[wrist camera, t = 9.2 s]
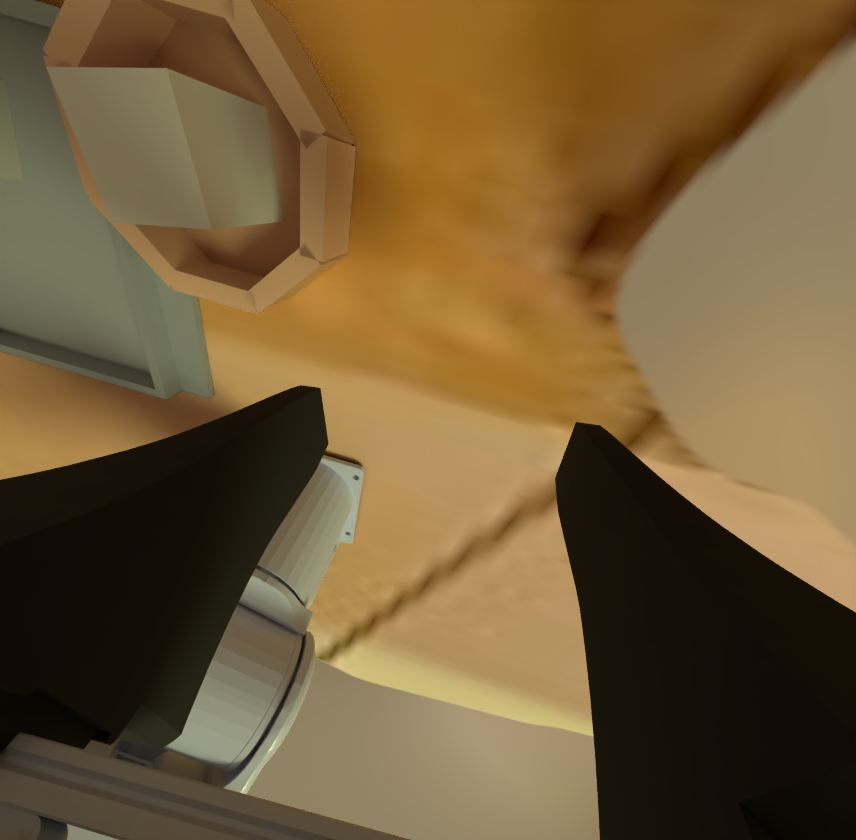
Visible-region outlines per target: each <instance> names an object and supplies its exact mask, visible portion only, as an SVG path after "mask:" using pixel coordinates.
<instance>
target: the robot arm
mask: <svg viewBox="0 0 856 840" xmlns="http://www.w3.org/2000/svg"><path fill="white" fill-rule="evenodd" d="M327 446H328V438H327V431H326V424H325V417H324V410H323V403H322V396H321V389H320V388H316V387H309V386H301V385H300V386H297V387H294V388H291V389H288V390H286V391H283V392H281V393H278V394H276V395H273V396H271V397H269V398H266V399H264V400H262V401H259V402H257V403H255V404H252V405H250V406H248V407H245V408H243V409H241V410H238V411H236V412H234V413H231V414H229V415H226V416H224V417H221V418H219V419H216V420H214V421H211V422H208V423H206V424H203V425H201V426H198V427H196V428H193V429H191V430H188V431H185V432H182V433H180V434H177V435H174V436H171V437H168V438H165V439H162V440H159V441H156V442H152V443H149V444H146V445H143V446H140V447H136V448H133V449H130V450H126V451H122V452H118V453H115V454H111V455H107V456H103V457H99V458H95V459H92V460H88V461H84V462H80V463H76V464H72V465H68V466H64V467H60V468H55V469H51V470H46V471H41V472H37V473H32V474H28V475H23V476H18V477H13V478H8V479H3V480H0V840H409V839H406V838H402V837H398V836H395V835H391V834H388V833H384V832H380V831H377V830H373V829H369V828H366V827H362V826H359V825H355V824H351V823H348V822H344V821H341V820H337V819H333V818H330V817H326V816H322V815H319V814H315V813H312V812H308V811H304V810H301V809H297V808H294V807H290V806H286V805H283V804H279V803H275V802H272V801H268V800H265V799H261V798H257V797H254V796H250V795H246V794H247V792H248V791H249V789H250V787H251V786H252V784H253V782H254V781H255V779H256V777H257V776H258V774H259V773H260V771H261V770H262V768H263V766H264V765H265V764H266V762H267V761H268V760H269V759H270V758H271V757H272V756H273V754H274V753H275V752H276V750H277V749H278V747H279V746H280V745H281V743H282V742H283V740H284V738H285V737H286V735H287V733H288V731H289V730H290V728H291V726H292V724H293V722H294V720H295V718H296V716H297V714H298V712H299V710H300V708H301V705H302V702H303V701H304V698H305V696H306V693H307V690H308V687H309V684H310V681H311V678H312V674H313V670H314V665H315V642H314V636H313V635H312V634H311V633H310V632H308V631H306V630H307V627H308V625H309V623H310V621H311V618H312V616H313V612H311V611H310V610H308V609H309V607H310V606H311V604H312V602H313V601H314V599H315V596H316V594H317V592H318V590H319V587H320V585H321V583H322V581H323V578H324V576H325V574H326V572H327V570H328V567H329V565H330V563H331V561H332V558H333V556H334V554H335V552H336V550H337V547H338V545H339V543H340V542H343V543H347V544H350V543H352V541H353V538H354V532H355V526H356V520H357V514H358V508H359V502H360V496H361V490H362V484H363V478H364V472H365V471H364V468H363V467H362V466H360V465H357V464H353V463H350V462H346V461H343V460H340V459H336V458H333V457H329V456H326V455H324V452H325V450H326V448H327ZM355 475H357V476H358V477H357V476H355ZM555 481H556V495H557V505H558V513H559V517H560V522H561V526H562V531H563V535H564V539H565V544H566V548H567V552H568V556H569V561H570V565H571V569H572V573H573V578H574V582H575V586H576V591H577V596H578V601H579V606H580V613H581V621H582V628H583V636H584V644H585V652H586V661H587V671H588V680H589V689H590V699H591V711H592V723H593V734H594V746H595V759H596V776H597V792H598V808H599V828H600V840H856V612H854V611H852V610H851V609H849V608H847V607H845V606H844V605H842V604H840V603H839V602H837V601H835V600H834V599H832V598H830V597H829V596H827V595H826V594H824V593H822V592H821V591H819V590H818V589H816V588H814V587H813V586H811V585H809V584H808V583H806V582H805V581H803V580H801V579H800V578H798V577H797V576H795V575H793V574H792V573H790V572H789V571H787V570H785V569H784V568H782V567H781V566H779V565H778V564H776V563H775V562H773V561H772V560H770V559H769V558H767V557H765V556H764V555H762V554H761V553H759V552H758V551H757V550H755V549H754V548H752V547H751V546H749V545H748V544H747V543H745V542H744V541H742V540H741V539H739V538H738V537H737V536H735V535H734V534H732V533H731V532H729V531H728V530H726V529H725V528H724V527H722V526H721V525H720V524H718V523H717V522H715V521H714V520H713V519H711V518H710V517H709V516H707V515H706V514H705V513H703V512H702V511H701V510H700V509H698V508H697V507H696V506H695V505H693V504H692V503H691V502H690V501H688V500H687V499H686V498H684V497H683V496H682V495H681V494H679V493H678V492H677V491H676V490H675V489H673V488H672V487H671V486H670V485H669V484H667V483H666V482H665V481H664V480H663V479H661V478H660V477H659V476H658V475H657V474H656V473H654V472H653V471H652V470H651V469H650V468H649V467H648V466H646V465H645V464H644V463H643V462H642V461H641V460H640V459H638V458H637V457H636V456H635V455H634V454H633V453H632V452H631V451H630V450H628V449H627V448H626V447H625V446H624V445H623V444H622V443H621V442H619V441H618V440H617V439H616V438H615V437H614V436H613V435H611V434H610V433H609V432H608V431H606V430H605V429H604V428H603V427H601V426H600V425H593V424H585V423H578V422H576V424H575V427H574V429H573V432H572V435H571V437H570V440H569V443H568V445H567V448H566V451H565V453H564V456H563V459H562V461H561V464H560V467H559V470H558V472H557V475H556V478H555Z"/></svg>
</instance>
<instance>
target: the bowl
mask: <svg viewBox="0 0 856 840" xmlns="http://www.w3.org/2000/svg"><path fill="white" fill-rule="evenodd" d="M43 50H44V52H45V53H46V54H47V55H48V56H49V57H47V56H44V55H43V57H44V61H45V64H46V67H102V68H167V69H170V70H173V71H175V72H178V73H180V74H183V75H185V76H188V77H190V78H193V79H195V80H198V81H200V82H203V83H205V84H208V85H211V86H213V87H216V88H218V89H221V90H223V91H226V92H228V93H231V94H233V95H236V96H238V97H241V98H243V99H246V100H249V101H251V102H254V103H256V104H259V105H261V106H264V107H266V113H267V119H268V125H269V130H270V136H271V142H272V148H273V154H274V160H275V166H276V171H277V177H278V183H279V189H280V195H281V201H282V207H283V212H284V218H285V221H283V222H274V223H265V224H256V225H247V226H238V227H230V228H221V229H197V228H182V227H168V226H153V225H139V224H124V223H112V222H111V220H110V217H109V215H108V212H107V210H106V208H105V205H104V203H103V201H102V198H101V196H100V194H99V191H98V189H97V186H96V184H95V182H94V179H93V177H92V175H91V172H90V170H89V168H88V165H87V163H86V160H85V158H84V156H83V153H82V151H81V149H80V146H79V144H78V142H77V139H76V137H75V134H74V132H73V130H72V127H71V125H70V123H69V120H68V118H67V116H66V113H65V111H64V108H63V106H62V104H61V101H60V99H59V97H58V94H57V92H56V90H55V87H54V85H53V82H52V80H51V78H50V80H51V83H52V87H53V90H54V93H55V96H56V100H57V103H58V106H59V109H60V112H61V116H62V119H63V122H64V125H65V129H66V132H67V135H68V138H69V142H70V145H71V148H72V151H73V155H74V158H75V161H76V164H77V167H78V171H79V174H80V177H81V180H82V184H83V187H84V190H85V193H86V194H88V195H91V196H90V197H89V200H90V201H91V202H92V203H93V204H94V205H95V206H96V207H97V209H98V210H99V211H100V212H101V213H102V214H103V215H104V216H105V217H106V218H107V220H108V221H109V222H110V223H111V224H112V225H113V226H114V227H115V228H116V229H117V231H118V232H119V233H120V234H121V235H122V236H123V237H124V238H125V239H126V240H127V242H128V243H129V244H130V245H131V246H132V247H133V248H134V249H135V250H136V251H137V253H138V254H139V255H140V256H141V257H142V258H143V259H144V260H145V261H146V262H147V264H148V265H149V266H150V267H151V268H152V269H153V270H154V271H155V272H156V273H157V275H158V276H159V277H160V278H161V279H162V280H163V281H164V282H165V283H166V284H167V286H168V287H169V288H170V287H172V288H173V290H175V291H178V292H182V293H185V294H189V295H192V296H196V297H199V298H203V299H206V300H209V301H213V302H216V303H220V304H223V305H227V306H230V307H234V308H237V309H241V310H244V311H248V312H251V313H254V314H257V313H261V312H263V311H265V310H267V309H269V308H271V307H273V306H275V305H277V304H279V303H281V302H283V301H285V300H288V299H290V298H291V297H292V296H294V295H295V294H296V293H298V292H299V291H300V290H302V289H303V288H304V287H306V286H307V285H308V284H310V283H311V282H312V281H313V280H315V279H316V278H317V277H319V276H320V275H321V274H323V273H324V272H325V271H327V270H328V269H329V268H330V267H332V266H333V265H334V264H336V263H337V262H338V261H340V260H341V259H342V258H344V257H345V256H346V254H345V253H348V243H349V231H350V219H351V206H352V194H353V181H354V169H355V157H356V147H355V146H352V144H353V143H354V142H355V141H354V139H353V137H352V135H351V133H350V132H349V130H348V128H347V126H346V124H345V123H344V121H343V119H342V117H341V115H340V114H339V112H338V110H337V108H336V107H335V105H334V103H333V101H332V99H331V98H330V96H329V94H328V92H327V90H326V89H325V87H324V85H323V83H322V81H321V80H320V78H319V76H318V74H317V72H316V71H315V69H314V67H313V65H312V64H311V62H310V60H309V58H308V56H307V55H306V53H305V51H304V49H303V47H302V46H301V44H300V42H299V40H298V38H297V37H296V35H295V33H294V31H293V29H292V28H291V26H290V24H289V22H288V20H287V19H286V18H284V17H283V16H282V15H281V14H280V13H279V12H278V11H276V10H275V9H274V8H273V7H272V6H271V5H269V4H268V3H267V2H266V1H265V0H64V3H63V5H62V7H61V9H60V12H59V14H58V16H57V18H56V21H55V23H54V25H53V27H52V30H51V32H50V34H49V36H48V38H47V41H46V43H45V45H44V47H43ZM48 74H49V73H48ZM49 77H50V75H49Z"/></svg>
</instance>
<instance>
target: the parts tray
mask: <svg viewBox="0 0 856 840" xmlns="http://www.w3.org/2000/svg"><path fill="white" fill-rule="evenodd" d="M60 9H61V8H59V7H56V6H53V5H49V4H46V3H42V2H39V1H35V0H0V79H2V80H3V81H4V83H5V88H6V93H7V99H8V104H9V109H10V114H11V119H12V125H13V130H14V135H15V140H16V146H17V151H18V156H19V161H20V166H21V172H22V177H23V180H10V179H0V352H4V353H7V354H11V355H14V356H18V357H21V358H24V359H28V360H31V361H35V362H38V363H42V364H45V365H49V366H52V367H55V368H59V369H62V370H66V371H69V372H73V373H76V374H79V375H83V376H86V377H90V378H93V379H97V380H100V381H103V382H107V383H110V384H114V385H117V386H121V387H124V388H128V389H131V390H134V391H138V392H141V393H145V394H148V395H152V396H155V397H158V398H162V399H165V400H167V399H168V398H170V397H172V396H173V395H175V394H177V393H178V392H180V391H181V390H182V391H185V392H189V393H192V394H196V395H199V396H203V397H206V398H211V397H212V396H214V390H213V384H212V378H211V372H210V366H209V360H208V355H207V349H206V343H205V337H204V331H203V325H202V320H201V314H200V308H199V302H198V297H196V296H192V295H189V294H185V293H182V292H178V291H175V290H173V288H172V287H170V288H169V287H168V286H167V284H166V283H165V282H164V281H163V280H162V279H161V278H160V277H159V276H158V275H157V273H156V272H155V271H154V270H153V269H152V268H151V267H150V266H149V265H148V264H147V262H146V261H145V260H144V259H143V258H142V257H141V256H140V255H139V254H138V253H137V251H136V250H135V249H134V248H133V247H132V246H131V245H130V244H129V243H128V242H127V240H126V239H125V238H124V237H123V236H122V235H121V234H120V233H119V232H118V231H117V229H116V228H115V227H114V226H113V225H112V224H111V223H110V222H109V221H108V220H107V218H106V217H105V216H104V215H103V214H102V213H101V212H100V211H99V210H98V209H97V207H96V206H95V205H94V204H93V203H92V202H91V201H90V200H89V197H90V196H91V195H88V194H86V193H85V190H84V187H83V184H82V180H81V177H80V174H79V171H78V167H77V164H76V161H75V158H74V155H73V151H72V148H71V145H70V142H69V138H68V135H67V132H66V129H65V125H64V122H63V119H62V116H61V112H60V109H59V106H58V103H57V100H56V96H55V93H54V90H53V87H52V83H51V80H50V77H49V74H48V71H47V68H46V64H45V61H44V57H43V55H44V56H47V57H49V56H48V55H47V54H46V53H45V52H44V50H43V47H44V45H45V43H46V41H47V38H48V36H49V34H50V32H51V30H52V27H53V25H54V23H55V21H56V18H57V16H58V14H59V12H60Z"/></svg>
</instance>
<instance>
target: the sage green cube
mask: <svg viewBox="0 0 856 840" xmlns="http://www.w3.org/2000/svg"><path fill="white" fill-rule="evenodd" d="M46 68H47V71H48V73H49V75H50V78H51V80H52V82H53V85H54V87H55V90H56V92H57V94H58V97H59V99H60V101H61V104H62V106H63V108H64V111H65V113H66V116H67V118H68V120H69V123H70V125H71V127H72V130H73V132H74V134H75V137H76V139H77V142H78V144H79V146H80V149H81V151H82V153H83V156H84V158H85V160H86V163H87V165H88V168H89V170H90V172H91V175H92V177H93V179H94V182H95V184H96V186H97V189H98V191H99V194H100V196H101V198H102V201H103V203H104V205H105V208H106V210H107V212H108V215H109V217H110V220H111V222H112V223H124V224H139V225H153V226H168V227H182V228H197V229H221V228H230V227H238V226H247V225H256V224H265V223H274V222H283V221H285V218H284V212H283V207H282V201H281V195H280V189H279V183H278V177H277V171H276V166H275V160H274V154H273V148H272V142H271V136H270V130H269V125H268V119H267V113H266V107H264V106H261V105H259V104H256V103H254V102H251V101H249V100H246V99H243V98H241V97H238V96H236V95H233V94H231V93H228V92H226V91H223V90H221V89H218V88H216V87H213V86H211V85H208V84H205V83H203V82H200V81H198V80H195V79H193V78H190V77H188V76H185V75H183V74H180V73H178V72H175V71H173V70H170V69H167V68H102V67H46Z"/></svg>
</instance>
